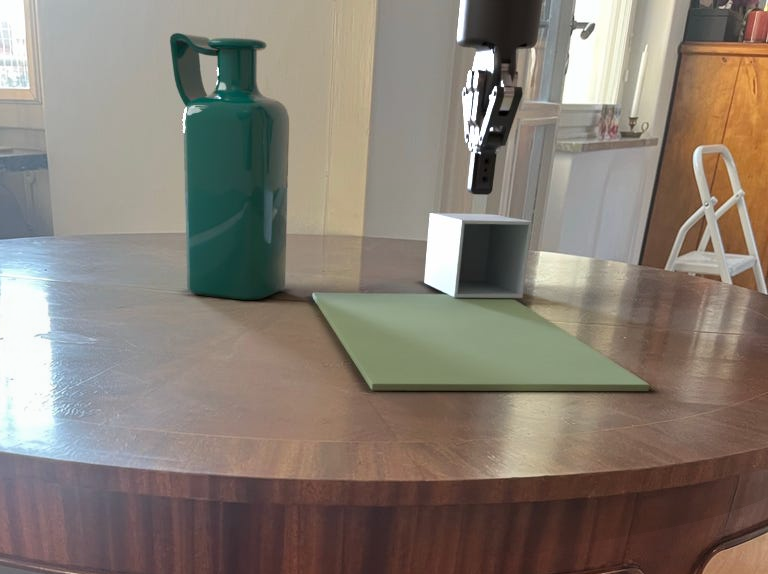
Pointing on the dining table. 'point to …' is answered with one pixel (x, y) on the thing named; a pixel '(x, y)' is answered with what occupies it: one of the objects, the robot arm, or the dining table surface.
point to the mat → (464, 345)
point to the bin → (477, 255)
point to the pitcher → (232, 172)
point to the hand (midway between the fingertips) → (479, 193)
